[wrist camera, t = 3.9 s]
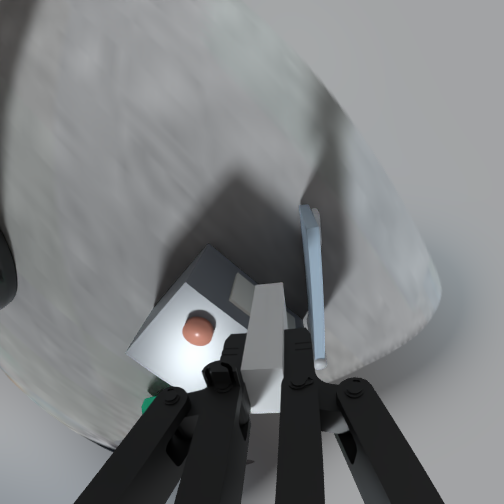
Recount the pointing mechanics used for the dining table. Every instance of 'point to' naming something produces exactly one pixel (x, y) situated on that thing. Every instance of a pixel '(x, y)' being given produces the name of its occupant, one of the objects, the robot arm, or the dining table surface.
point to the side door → (314, 281)
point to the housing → (197, 320)
